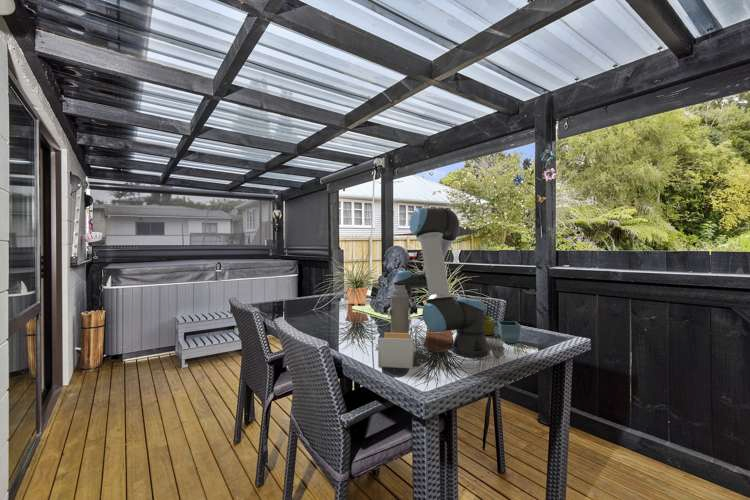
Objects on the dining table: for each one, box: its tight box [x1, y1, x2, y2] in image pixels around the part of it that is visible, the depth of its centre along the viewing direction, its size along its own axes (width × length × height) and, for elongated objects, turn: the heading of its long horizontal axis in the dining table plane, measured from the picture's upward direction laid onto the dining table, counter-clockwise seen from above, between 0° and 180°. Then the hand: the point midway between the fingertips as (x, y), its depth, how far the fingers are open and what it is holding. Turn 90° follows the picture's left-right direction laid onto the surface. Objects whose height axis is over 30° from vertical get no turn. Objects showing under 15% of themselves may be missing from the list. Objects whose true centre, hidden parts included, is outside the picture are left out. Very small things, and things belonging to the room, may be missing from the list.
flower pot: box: [497, 320, 521, 344], centre depth 167 cm, size 9×9×9 cm
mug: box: [485, 316, 495, 336], centre depth 182 cm, size 12×10×10 cm
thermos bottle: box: [390, 281, 410, 334], centre depth 155 cm, size 8×8×28 cm
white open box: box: [377, 337, 415, 369], centre depth 142 cm, size 17×13×11 cm
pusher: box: [383, 332, 410, 339], centre depth 139 cm, size 4×10×10 cm, turn 81°
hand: (398, 313), depth 150 cm, fingers closed on thermos bottle, 8 cm apart
